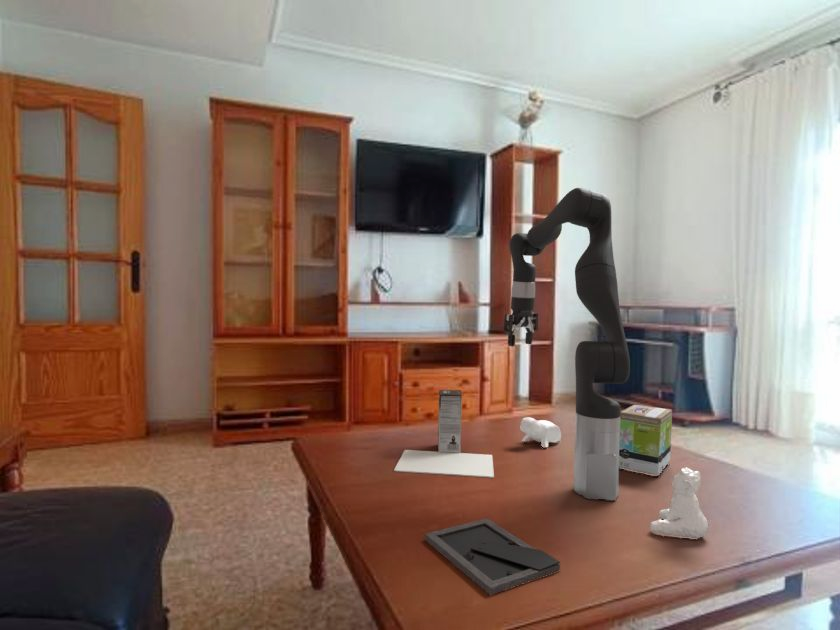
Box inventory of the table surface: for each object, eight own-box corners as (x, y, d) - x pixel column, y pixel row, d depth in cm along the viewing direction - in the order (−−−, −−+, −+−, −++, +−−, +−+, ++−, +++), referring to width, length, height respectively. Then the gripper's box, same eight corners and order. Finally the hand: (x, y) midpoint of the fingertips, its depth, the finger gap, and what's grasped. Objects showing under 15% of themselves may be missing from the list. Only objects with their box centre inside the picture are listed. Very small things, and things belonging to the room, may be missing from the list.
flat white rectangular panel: (493, 477, 113) (493, 476, 113) (393, 471, 116) (393, 470, 116) (492, 456, 129) (492, 454, 129) (404, 450, 132) (404, 449, 132)
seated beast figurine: (661, 516, 93) (662, 455, 93) (712, 530, 87) (714, 465, 87) (648, 534, 86) (650, 467, 85) (703, 550, 80) (705, 479, 80)
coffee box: (437, 444, 140) (438, 389, 140) (459, 444, 139) (460, 389, 140) (438, 452, 130) (439, 393, 131) (461, 453, 130) (462, 394, 131)
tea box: (659, 479, 114) (661, 417, 114) (616, 469, 121) (617, 411, 120) (671, 463, 126) (672, 408, 126) (630, 455, 133) (632, 402, 132)
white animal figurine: (537, 448, 148) (508, 437, 139) (543, 421, 150) (516, 409, 141) (561, 455, 142) (532, 444, 133) (567, 427, 144) (540, 414, 135)
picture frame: (559, 574, 73) (486, 526, 88) (559, 561, 73) (486, 516, 88) (490, 599, 66) (424, 542, 82) (490, 584, 66) (425, 531, 82)
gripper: (517, 297, 147) (514, 349, 149) (546, 296, 156) (543, 345, 158) (499, 295, 153) (496, 345, 155) (528, 294, 162) (525, 341, 164)
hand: (520, 344), depth 156 cm, fingers open, 8 cm apart
